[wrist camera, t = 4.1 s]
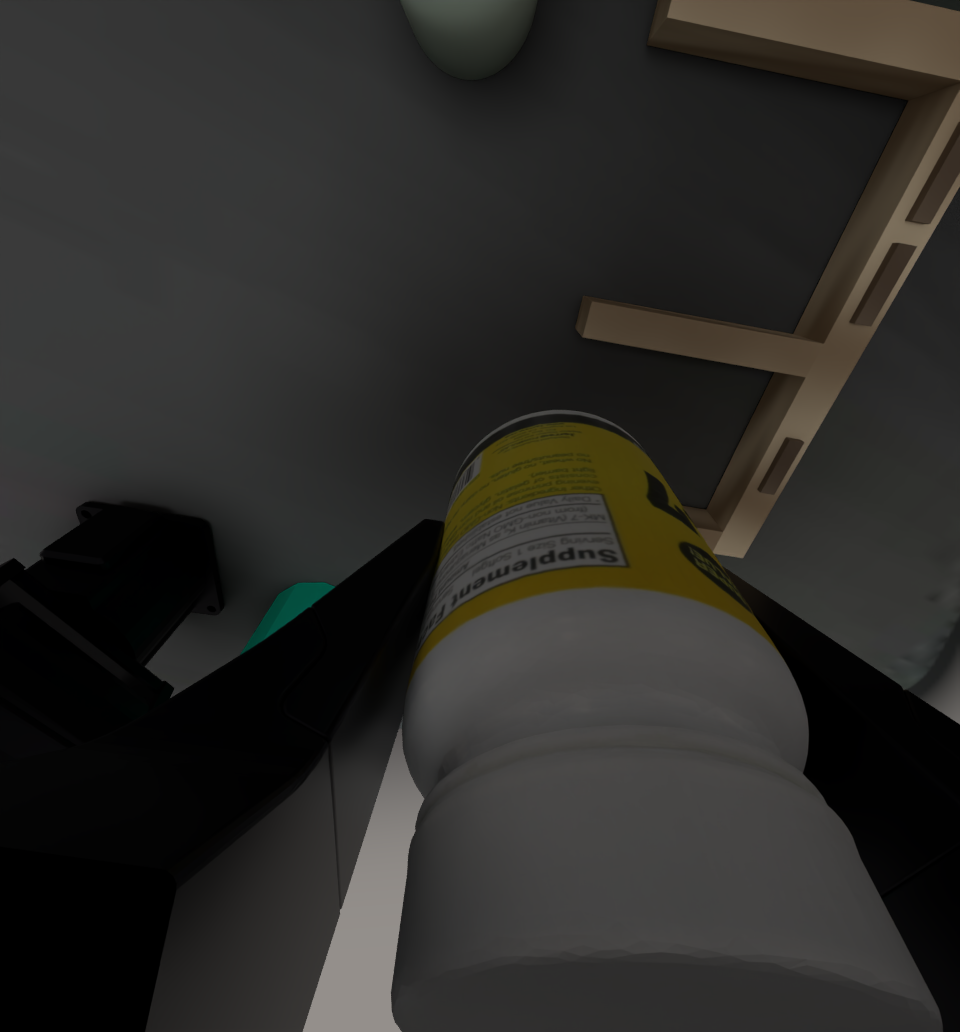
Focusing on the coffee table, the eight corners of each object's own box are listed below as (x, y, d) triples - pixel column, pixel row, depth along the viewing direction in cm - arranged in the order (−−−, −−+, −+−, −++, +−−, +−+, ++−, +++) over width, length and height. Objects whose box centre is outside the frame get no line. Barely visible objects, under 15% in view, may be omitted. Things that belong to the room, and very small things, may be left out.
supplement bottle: (674, 550, 11) (976, 1113, 4) (497, 600, 12) (483, 1106, 5) (628, 366, 9) (1127, 896, 2) (416, 449, 10) (192, 969, 3)
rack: (724, 534, 23) (745, 562, 21) (530, 503, 22) (533, 528, 20) (981, 58, 14) (1061, 27, 12) (660, -12, 13) (688, -57, 11)
